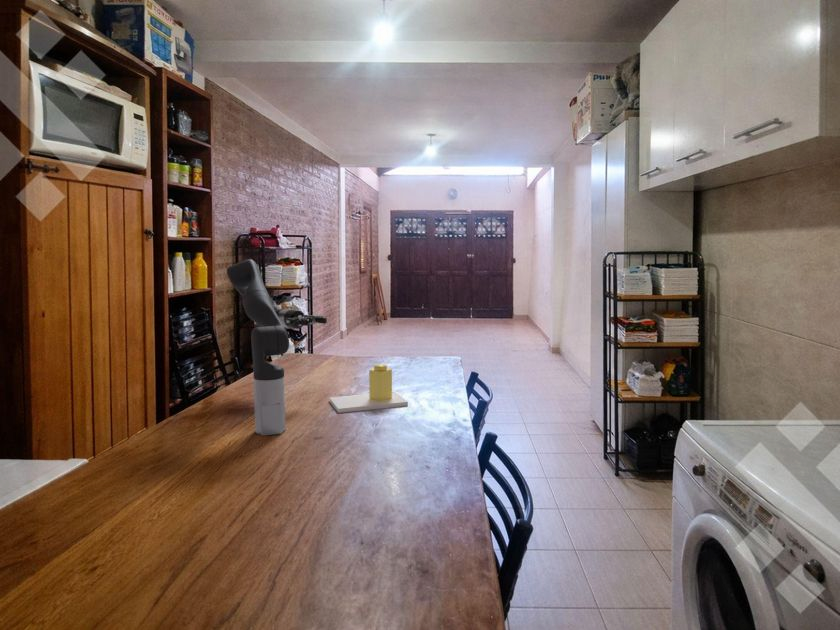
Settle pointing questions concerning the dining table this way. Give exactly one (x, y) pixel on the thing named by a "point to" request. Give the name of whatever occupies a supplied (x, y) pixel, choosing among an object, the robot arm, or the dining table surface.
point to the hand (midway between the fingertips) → (317, 321)
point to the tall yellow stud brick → (380, 383)
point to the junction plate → (365, 402)
